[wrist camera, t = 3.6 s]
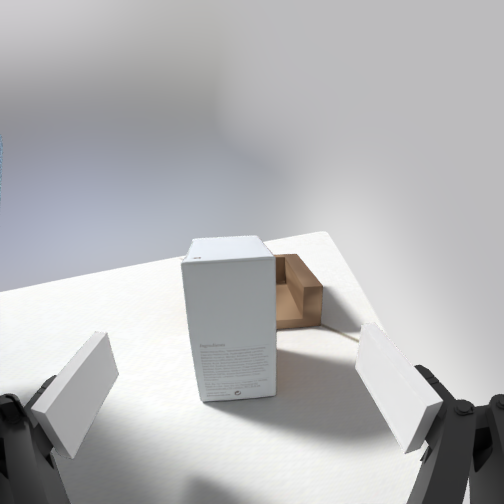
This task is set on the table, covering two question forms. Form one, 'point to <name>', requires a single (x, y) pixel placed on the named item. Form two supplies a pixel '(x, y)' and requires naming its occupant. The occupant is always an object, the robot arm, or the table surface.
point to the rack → (296, 294)
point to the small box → (231, 316)
